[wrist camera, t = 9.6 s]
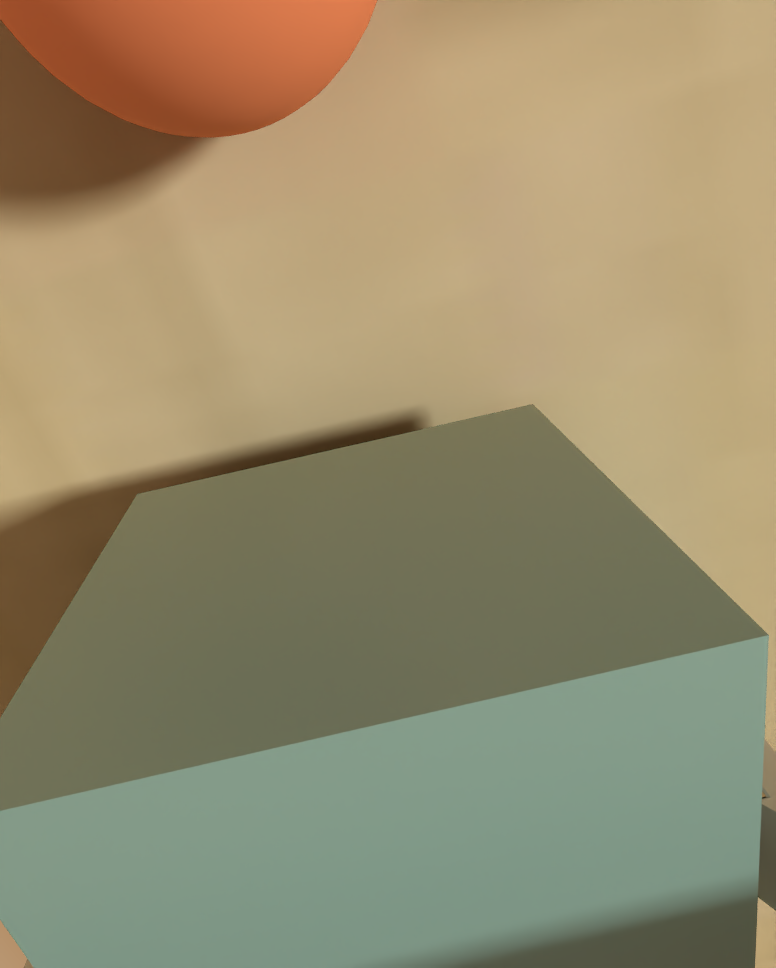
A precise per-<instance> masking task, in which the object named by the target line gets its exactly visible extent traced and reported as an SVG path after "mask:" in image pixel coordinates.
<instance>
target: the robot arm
mask: <svg viewBox="0 0 776 968" xmlns="http://www.w3.org/2000/svg"><path fill="white" fill-rule="evenodd" d="M758 897H759V898H760V899H761V900H763V901H764V902H765V903H766V904H768V905H769V906H770V907H772V908H773V909H774V910H776V751H775V750H774V749H773V748H772V746H771V745H770V744H769V743H768V741H767V740H766V739H765V738H764V759H763V783H762V807H761V831H760V855H759V879H758ZM24 968H34V967H33V966H32V964H31V963H30V961H29V960H28V959H27V961H26V964H25V966H24Z"/></svg>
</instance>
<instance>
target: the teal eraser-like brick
mask: <svg viewBox="0 0 776 968" xmlns="http://www.w3.org/2000/svg"><path fill="white" fill-rule="evenodd" d="M768 639H769V635H768V634H767V633H766V632H765V631H764V630H763V629H762V628H761V627H760V626H759V625H758V624H757V623H756V622H755V621H754V620H753V619H752V618H751V617H750V616H749V615H748V614H746V613H745V612H744V611H743V610H742V609H741V608H740V607H739V606H738V605H737V604H736V603H735V602H734V601H733V600H732V599H731V598H730V597H729V596H728V595H727V594H726V593H725V592H724V591H723V590H722V589H721V588H720V587H719V586H718V585H717V584H716V583H715V582H714V581H713V580H712V579H711V578H710V577H709V576H708V575H707V574H706V573H705V572H704V571H703V570H702V569H701V568H699V567H698V566H697V565H696V564H695V563H694V562H693V561H692V560H691V559H690V558H689V557H688V556H687V555H686V554H685V553H684V552H683V551H682V550H681V549H680V548H679V547H678V546H677V545H676V544H675V543H674V542H673V541H672V540H671V539H670V538H669V537H668V536H667V535H666V534H665V533H664V532H663V531H662V530H661V529H660V528H659V527H658V526H657V525H656V524H655V523H654V522H653V521H651V520H650V519H649V518H648V517H647V516H646V515H645V514H644V513H643V512H642V511H641V510H640V509H639V508H638V507H637V506H636V505H635V504H634V503H633V502H632V501H631V500H630V499H629V498H628V497H627V496H626V495H625V494H624V493H623V492H622V491H621V490H620V489H619V488H618V487H617V486H616V485H615V484H614V483H613V482H612V481H611V480H610V479H609V478H608V477H607V476H606V475H604V474H603V473H602V472H601V471H600V470H599V469H598V468H597V467H596V466H595V465H594V464H593V463H592V462H591V461H590V460H589V459H588V458H587V457H586V456H585V455H584V454H583V453H582V452H581V451H580V450H579V449H578V448H577V447H576V446H575V445H574V444H573V443H572V442H571V441H570V440H569V439H568V438H567V437H566V436H565V435H564V434H563V433H562V432H561V431H560V430H559V429H557V428H556V427H555V426H554V425H553V424H552V423H551V422H550V421H549V420H548V419H547V418H546V417H545V416H544V415H543V414H542V413H541V412H540V411H539V410H538V409H537V408H536V407H535V406H534V405H533V404H532V405H527V406H523V407H519V408H514V409H510V410H505V411H501V412H496V413H492V414H488V415H483V416H479V417H474V418H470V419H466V420H461V421H457V422H452V423H448V424H444V425H439V426H435V427H430V428H426V429H422V430H417V431H413V432H408V433H404V434H400V435H395V436H391V437H386V438H382V439H377V440H373V441H369V442H364V443H360V444H355V445H351V446H347V447H342V448H338V449H333V450H329V451H325V452H320V453H316V454H311V455H307V456H303V457H298V458H294V459H289V460H285V461H281V462H276V463H272V464H267V465H263V466H258V467H254V468H250V469H245V470H241V471H236V472H232V473H228V474H223V475H219V476H214V477H210V478H206V479H201V480H197V481H192V482H188V483H184V484H179V485H175V486H170V487H166V488H161V489H157V490H153V491H148V492H144V493H139V494H137V495H136V497H135V498H134V500H133V502H132V503H131V505H130V507H129V508H128V510H127V512H126V513H125V515H124V516H123V518H122V520H121V521H120V523H119V525H118V526H117V528H116V530H115V531H114V533H113V534H112V536H111V538H110V539H109V541H108V543H107V544H106V546H105V548H104V549H103V551H102V552H101V554H100V556H99V557H98V559H97V561H96V562H95V564H94V565H93V567H92V569H91V570H90V572H89V574H88V575H87V577H86V579H85V580H84V582H83V583H82V585H81V587H80V588H79V590H78V592H77V593H76V595H75V597H74V598H73V600H72V601H71V603H70V605H69V606H68V608H67V610H66V611H65V613H64V615H63V616H62V618H61V619H60V621H59V623H58V624H57V626H56V628H55V629H54V631H53V632H52V634H51V636H50V637H49V639H48V641H47V642H46V644H45V646H44V647H43V649H42V650H41V652H40V654H39V655H38V657H37V659H36V660H35V662H34V664H33V665H32V667H31V668H30V670H29V672H28V673H27V675H26V677H25V678H24V680H23V682H22V683H21V685H20V686H19V688H18V690H17V691H16V693H15V695H14V696H13V698H12V699H11V701H10V703H9V704H8V706H7V708H6V709H5V711H4V713H3V714H2V716H1V717H0V920H1V921H2V923H3V925H4V926H5V927H6V929H7V930H8V931H9V933H10V935H11V936H12V937H13V939H14V940H15V942H16V943H17V944H18V946H19V947H20V949H21V950H22V952H23V953H24V954H25V956H26V957H27V959H28V960H29V961H30V963H31V964H32V966H33V967H34V968H755V951H756V927H757V903H758V879H759V855H760V831H761V807H762V783H763V759H764V735H765V711H766V687H767V663H768Z"/></svg>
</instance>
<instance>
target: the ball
mask: <svg viewBox="0 0 776 968" xmlns="http://www.w3.org/2000/svg"><path fill="white" fill-rule="evenodd" d="M376 2H377V0H0V20H1V21H2V22H3V23H4V24H5V26H6V27H7V28H8V29H9V30H10V31H11V33H12V34H13V35H14V36H15V37H16V39H17V40H18V41H19V42H20V43H21V44H22V45H23V46H24V48H25V49H26V50H27V51H28V52H29V53H30V54H31V55H32V56H33V57H34V58H35V59H36V60H37V61H38V62H39V63H40V64H42V65H43V66H44V67H45V68H46V69H47V70H48V71H49V72H50V73H51V74H52V75H53V76H55V77H56V78H57V79H59V80H60V81H61V82H63V83H64V84H65V85H67V86H68V87H69V88H71V89H72V90H74V91H75V92H76V93H78V94H79V95H80V96H82V97H83V98H85V99H86V100H87V101H89V102H91V103H93V104H94V105H96V106H98V107H100V108H102V109H104V110H106V111H108V112H110V113H112V114H113V115H115V116H117V117H119V118H121V119H123V120H125V121H128V122H131V123H134V124H136V125H139V126H142V127H145V128H148V129H152V130H155V131H158V132H163V133H167V134H171V135H180V136H188V137H224V136H232V135H237V134H243V133H246V132H250V131H254V130H257V129H260V128H263V127H265V126H268V125H271V124H273V123H275V122H277V121H279V120H281V119H283V118H285V117H287V116H288V115H290V114H291V113H293V112H295V111H296V110H298V109H299V108H300V107H302V106H303V105H305V104H306V103H307V102H309V101H310V100H311V99H312V98H314V97H315V96H316V95H318V94H319V93H320V92H321V91H322V90H323V89H324V88H325V87H326V86H327V85H328V84H329V83H330V81H331V80H332V79H333V78H334V77H335V75H336V74H337V73H338V72H339V70H340V69H341V68H342V67H343V65H344V64H345V63H346V62H347V60H348V59H349V58H350V56H351V54H352V53H353V51H354V49H355V47H356V46H357V44H358V42H359V40H360V39H361V37H362V35H363V33H364V31H365V30H366V28H367V26H368V24H369V21H370V18H371V16H372V13H373V10H374V8H375V5H376Z"/></svg>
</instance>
